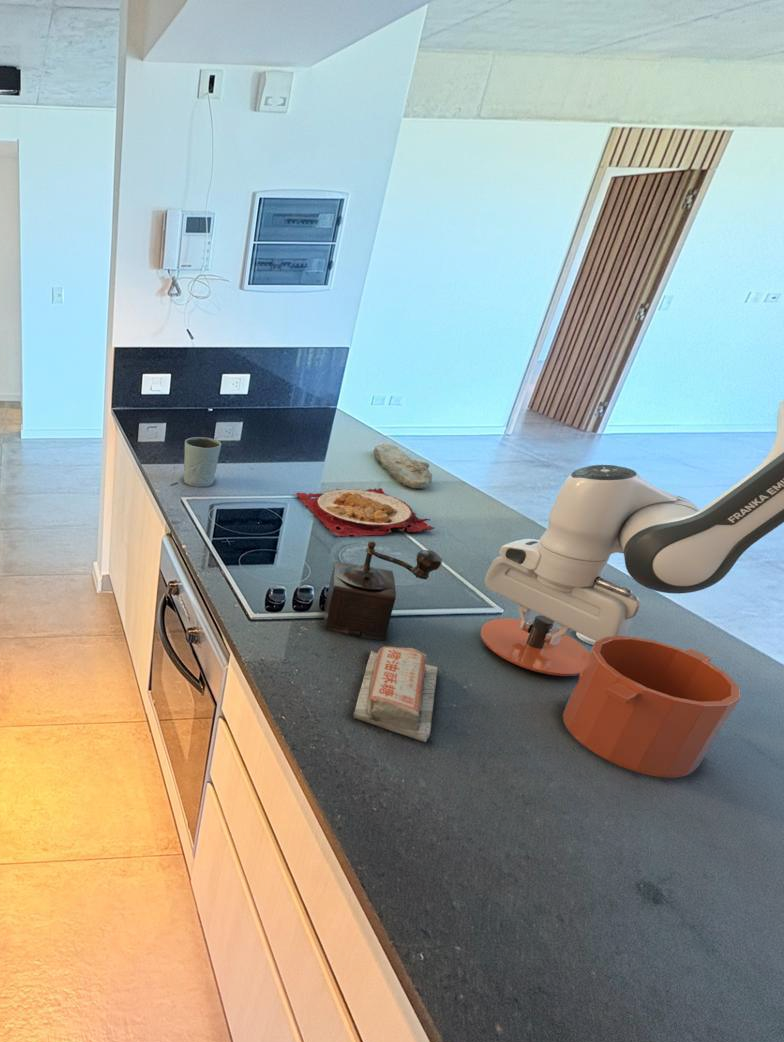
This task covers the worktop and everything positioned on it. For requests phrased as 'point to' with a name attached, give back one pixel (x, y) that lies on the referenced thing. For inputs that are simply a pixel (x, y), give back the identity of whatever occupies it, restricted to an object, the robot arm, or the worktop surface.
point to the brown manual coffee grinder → (368, 594)
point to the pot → (649, 705)
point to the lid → (534, 646)
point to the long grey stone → (403, 467)
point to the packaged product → (398, 692)
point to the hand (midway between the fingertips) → (538, 636)
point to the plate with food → (362, 512)
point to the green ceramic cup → (200, 461)
